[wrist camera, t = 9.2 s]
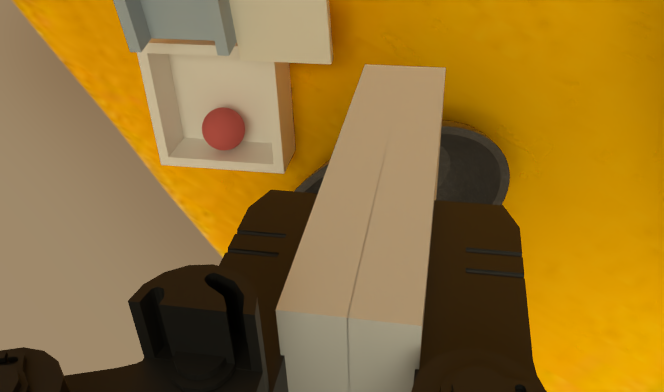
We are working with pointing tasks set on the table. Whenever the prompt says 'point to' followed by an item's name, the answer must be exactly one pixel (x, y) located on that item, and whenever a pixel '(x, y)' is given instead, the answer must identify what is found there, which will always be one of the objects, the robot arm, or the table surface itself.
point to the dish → (217, 105)
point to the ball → (223, 128)
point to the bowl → (457, 168)
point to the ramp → (235, 26)
